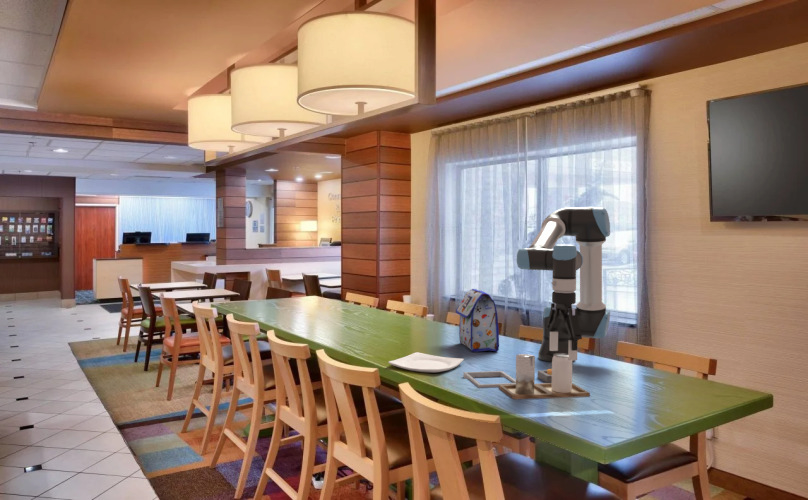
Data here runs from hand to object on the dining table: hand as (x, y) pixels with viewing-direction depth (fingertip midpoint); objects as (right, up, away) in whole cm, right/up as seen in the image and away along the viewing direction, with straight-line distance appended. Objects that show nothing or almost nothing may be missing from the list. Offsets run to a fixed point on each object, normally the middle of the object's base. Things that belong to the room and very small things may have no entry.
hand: (562, 355), depth 187 cm
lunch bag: (-18, -11, +76) cm, 79 cm away
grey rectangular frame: (-22, -12, +13) cm, 28 cm away
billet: (-13, -12, -3) cm, 18 cm away
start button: (0, -12, +14) cm, 19 cm away
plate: (-44, -12, +37) cm, 59 cm away
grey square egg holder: (0, -13, +14) cm, 19 cm away
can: (0, -12, 0) cm, 12 cm away
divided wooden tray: (-7, -13, -1) cm, 14 cm away
